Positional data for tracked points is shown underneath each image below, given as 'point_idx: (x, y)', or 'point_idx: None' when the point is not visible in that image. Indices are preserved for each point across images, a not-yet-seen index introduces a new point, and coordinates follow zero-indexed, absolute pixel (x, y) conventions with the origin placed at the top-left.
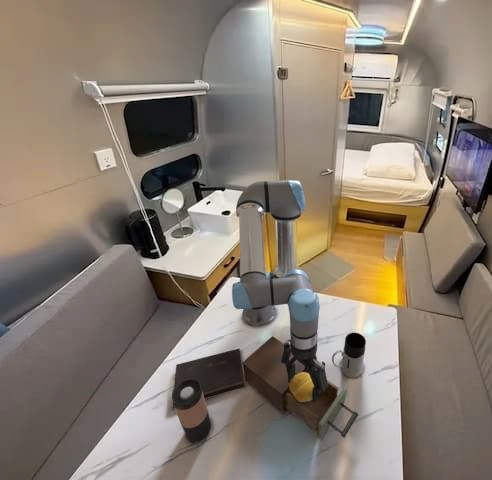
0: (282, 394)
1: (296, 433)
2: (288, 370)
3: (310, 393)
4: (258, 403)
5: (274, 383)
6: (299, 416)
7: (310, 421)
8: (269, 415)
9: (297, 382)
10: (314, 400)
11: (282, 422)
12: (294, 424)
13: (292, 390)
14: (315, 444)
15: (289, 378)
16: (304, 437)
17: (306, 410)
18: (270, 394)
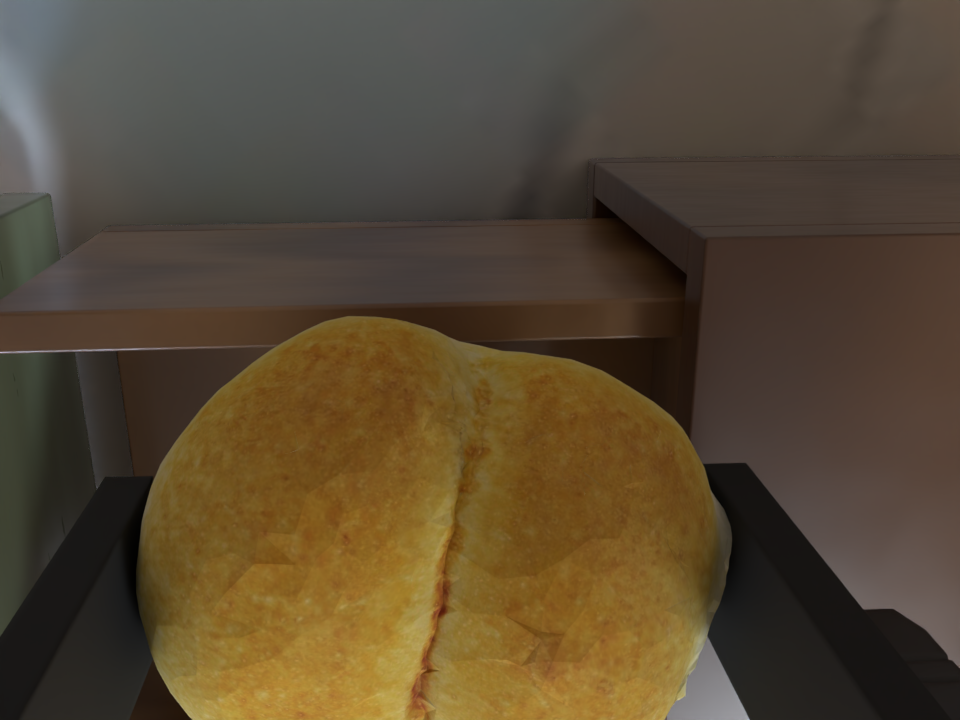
0: (698, 245)
1: (302, 80)
2: (920, 715)
3: (171, 577)
4: (910, 51)
5: (943, 299)
6: (367, 230)
7: (164, 254)
8: (703, 30)
9: (548, 588)
10: (88, 511)
11: (519, 70)
12: (389, 143)
13: (552, 394)
14: (48, 128)
15: (763, 539)
16: (198, 106)
17: (202, 305)
18: (862, 183)
